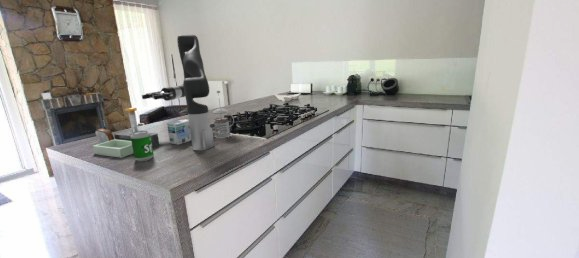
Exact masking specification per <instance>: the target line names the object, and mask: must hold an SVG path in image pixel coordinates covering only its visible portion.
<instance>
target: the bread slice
mask: <svg viewBox="0 0 579 258" xmlns="http://www.w3.org/2000/svg"><path fill="white" fill-rule="evenodd" d="M94 133H95V134H94V135H95V137H96V140H97V142H98V144H101V143H104V142H107V141H111V140H114V139H115V136H114V134H113V133H112V131H111V130H110V129H107V128H106V129H105V128H102V127H101V128H99V129H96V130H95V132H94Z"/></svg>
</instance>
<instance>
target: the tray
mask: <svg viewBox="0 0 579 258" xmlns="http://www.w3.org/2000/svg"><path fill="white" fill-rule="evenodd" d="M92 149H93V154H94V155H100V156H107V157H115V158H121V159H122V158H124V157H127V156H129V155H134V152H133V147H132V142H131V141H126V140H117V139H115V138H114V140H111V141H107V142H104V143H101V144H100V143H97V144H95V145H92Z"/></svg>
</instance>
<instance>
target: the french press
mask: <svg viewBox="0 0 579 258" xmlns="http://www.w3.org/2000/svg"><path fill="white" fill-rule="evenodd" d="M216 93H217V94H218V95H220V94H221V91H220V90H217V91H216ZM218 103H219V105H221V101H220V99H218ZM228 112H229V110H227V109H225V108H221V107H219V108H217V109H214V110H213V111H212V113H213V114H215V115H216V114H217V115H218V114H219V115H222V114H227V115H228V116H231V118H232V119H233V120H232V124H231V125H230V122H229V121H230V120H228V119H229V118H228V117H224V116H223V117H222V116H220V117H216V118H214V122H213V123H214V132H215V134H214V135H213V138H214V137H216V138H215V139H225V138H224V137H228V138H230V137H229V136H230V135H231V134H232V133H231V130H230V129H231V127H232V126H234V123H235V117H234V116H233V115H231V113H228Z"/></svg>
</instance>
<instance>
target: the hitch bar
mask: <svg viewBox="0 0 579 258" xmlns="http://www.w3.org/2000/svg"><path fill="white" fill-rule="evenodd" d="M149 133H150V136H151V142H152V148H155V147H158V146H160V141H159V134H158V133H154V132H149ZM131 135H132V130H125V131H122V132H121V131H120V132H118V133H115V134H113V136H114V139H117V140H126V141H131V137H130V136H131Z"/></svg>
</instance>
